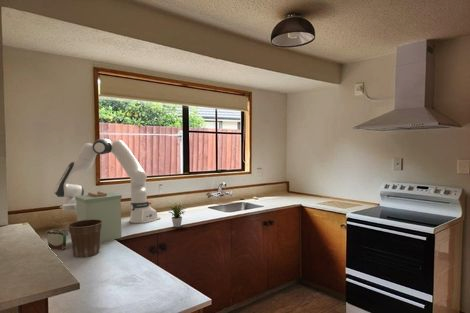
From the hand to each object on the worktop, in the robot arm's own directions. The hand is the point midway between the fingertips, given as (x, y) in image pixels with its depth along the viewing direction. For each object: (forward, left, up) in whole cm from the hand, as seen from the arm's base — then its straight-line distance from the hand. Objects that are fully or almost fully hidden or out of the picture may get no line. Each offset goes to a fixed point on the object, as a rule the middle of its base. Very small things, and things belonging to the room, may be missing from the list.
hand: (82, 207), depth 206 cm
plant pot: (+15, +51, -15) cm, 55 cm away
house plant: (-48, +40, -15) cm, 65 cm away
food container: (+22, +31, -15) cm, 41 cm away
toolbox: (0, +29, -15) cm, 33 cm away
